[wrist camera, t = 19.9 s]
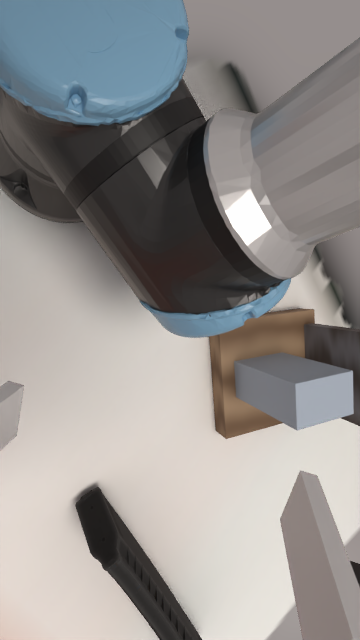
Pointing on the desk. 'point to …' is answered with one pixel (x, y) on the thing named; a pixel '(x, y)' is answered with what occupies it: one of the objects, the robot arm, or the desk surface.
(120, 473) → the desk surface
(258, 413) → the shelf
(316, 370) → the slate gray rectangular prism
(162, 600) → the magazine
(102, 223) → the robot arm
